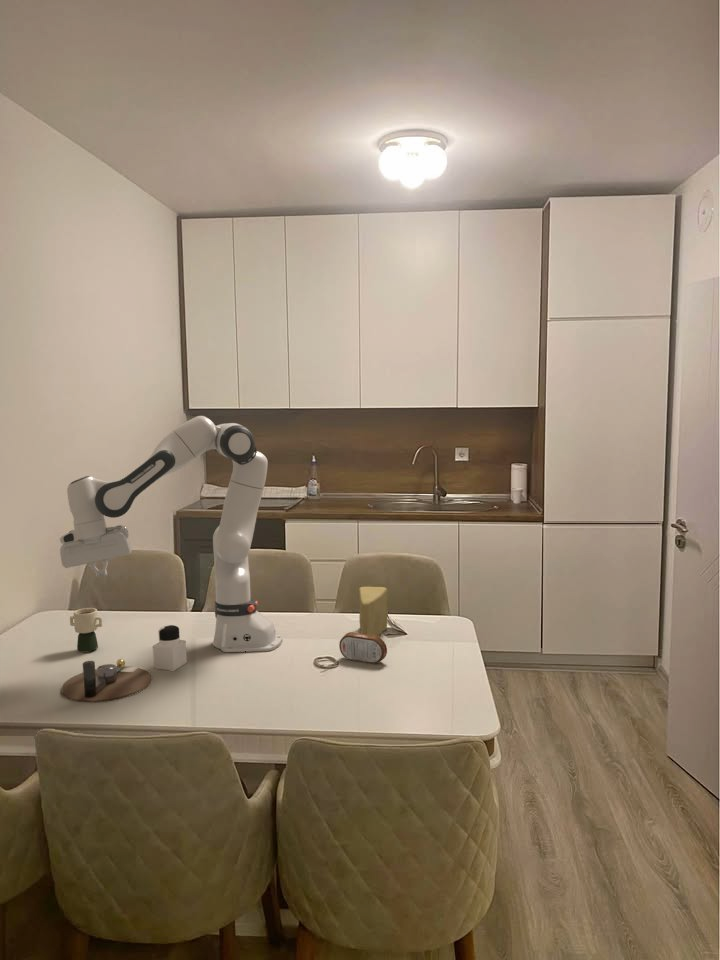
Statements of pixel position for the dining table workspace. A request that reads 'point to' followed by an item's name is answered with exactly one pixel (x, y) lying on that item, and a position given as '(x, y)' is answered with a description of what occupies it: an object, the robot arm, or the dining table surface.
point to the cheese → (373, 610)
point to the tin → (363, 648)
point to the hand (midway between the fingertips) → (101, 575)
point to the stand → (109, 685)
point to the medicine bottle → (169, 649)
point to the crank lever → (99, 676)
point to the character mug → (86, 628)
